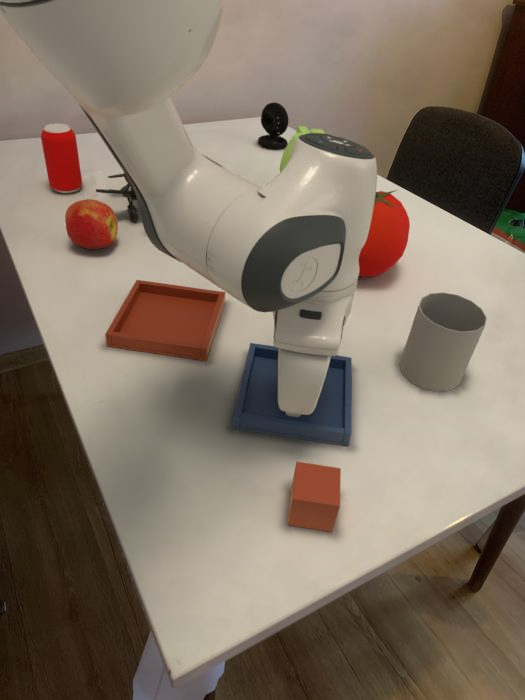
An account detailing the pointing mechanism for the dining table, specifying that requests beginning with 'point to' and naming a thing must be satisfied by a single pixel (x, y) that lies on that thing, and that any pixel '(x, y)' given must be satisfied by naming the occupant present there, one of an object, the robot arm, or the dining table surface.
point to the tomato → (384, 236)
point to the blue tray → (266, 417)
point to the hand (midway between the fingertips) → (296, 384)
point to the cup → (442, 341)
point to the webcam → (274, 126)
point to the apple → (91, 224)
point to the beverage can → (61, 158)
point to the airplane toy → (131, 208)
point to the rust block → (314, 496)
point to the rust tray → (167, 320)
